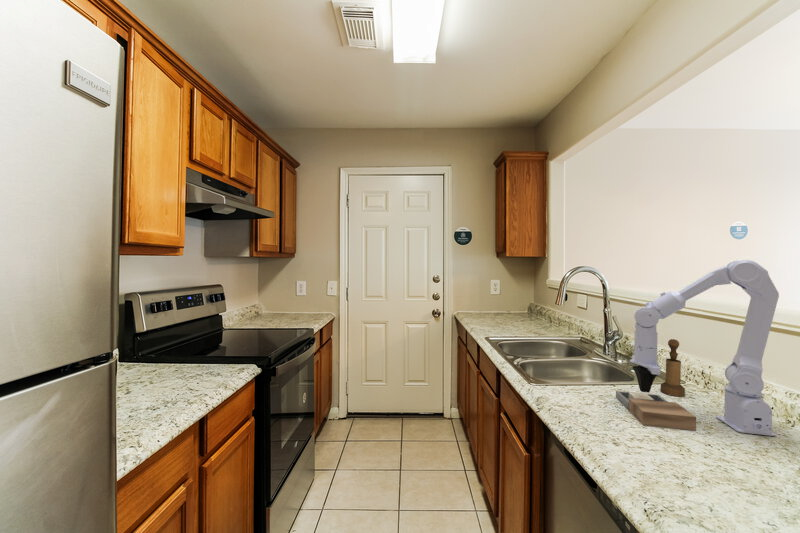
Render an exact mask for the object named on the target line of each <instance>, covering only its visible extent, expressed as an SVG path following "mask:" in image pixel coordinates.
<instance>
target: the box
mask: <svg viewBox="0 0 800 533" xmlns="http://www.w3.org/2000/svg"><path fill="white" fill-rule="evenodd" d="M630 393H634V392H632V391H630ZM640 393H641V394H645V392H640ZM646 394H647V395H649V396H650V397H651V398H652V399H654V401H664V402H669V401H668V400H666V399H665V398H663V397H662V396H661V394H660V395H659V394H654V393H653V394H651V393H646ZM615 398H616V399H617V398H618V399H619V400H618V399H617V400H618V401H619V402H620V403H621V404H622V405H623V406H624V407H625V408H626V409H627V410H629V391H620V390H619V391H618V390H616V391H615Z"/></svg>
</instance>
